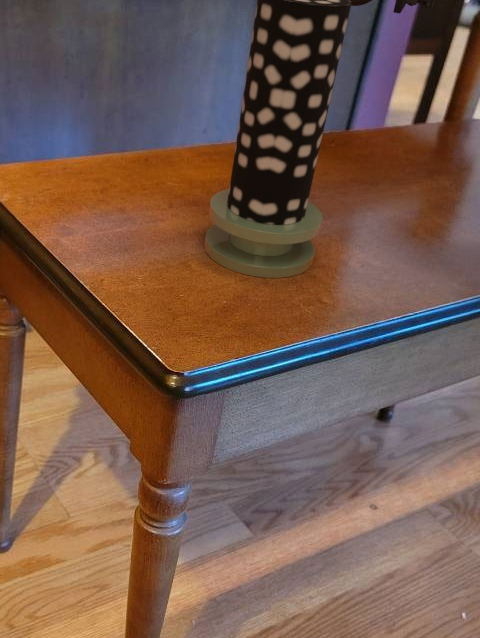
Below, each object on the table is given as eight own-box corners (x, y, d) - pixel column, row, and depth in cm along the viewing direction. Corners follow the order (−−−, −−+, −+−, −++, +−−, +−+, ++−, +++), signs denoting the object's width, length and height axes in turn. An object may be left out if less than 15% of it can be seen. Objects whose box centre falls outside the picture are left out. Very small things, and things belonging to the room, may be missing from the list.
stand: (327, 249, 84) (338, 207, 81) (287, 289, 75) (297, 244, 72) (232, 219, 88) (239, 178, 85) (184, 254, 79) (189, 210, 76)
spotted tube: (257, 229, 74) (297, 5, 62) (212, 197, 79) (240, -14, 67) (321, 219, 78) (370, 6, 65) (273, 189, 83) (311, -13, 71)
